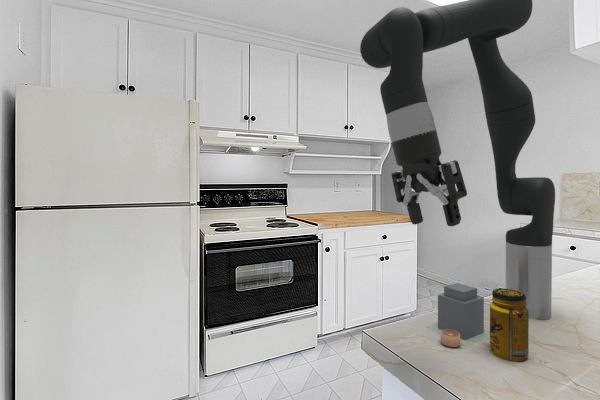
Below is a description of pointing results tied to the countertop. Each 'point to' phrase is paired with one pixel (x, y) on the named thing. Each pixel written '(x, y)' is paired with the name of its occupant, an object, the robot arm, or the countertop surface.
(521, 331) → the condiment
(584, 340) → the countertop surface
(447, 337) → the bowl
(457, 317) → the grey stepped block
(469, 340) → the mat
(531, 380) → the countertop surface
